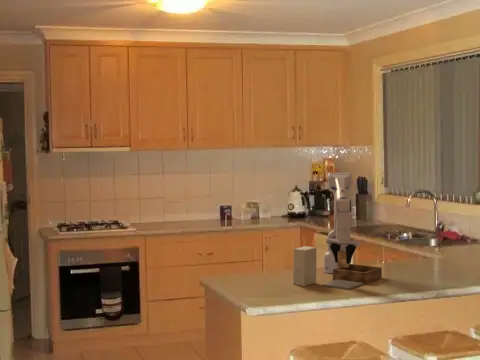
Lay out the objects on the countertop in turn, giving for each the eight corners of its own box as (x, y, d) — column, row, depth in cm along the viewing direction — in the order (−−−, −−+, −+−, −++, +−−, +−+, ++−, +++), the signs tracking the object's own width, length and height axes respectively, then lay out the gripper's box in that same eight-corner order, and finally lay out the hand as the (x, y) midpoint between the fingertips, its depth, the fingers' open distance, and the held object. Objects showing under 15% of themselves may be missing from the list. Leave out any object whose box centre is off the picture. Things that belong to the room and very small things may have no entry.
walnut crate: (332, 279, 304) (332, 269, 304) (349, 274, 317) (349, 263, 316) (365, 284, 296) (366, 273, 295) (381, 278, 308) (381, 267, 308)
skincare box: (305, 281, 302) (305, 245, 301) (317, 283, 298) (317, 247, 297) (292, 284, 296) (292, 247, 295) (304, 286, 292) (304, 249, 291)
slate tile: (322, 286, 292) (322, 284, 292) (336, 281, 302) (336, 279, 302) (349, 290, 285) (349, 287, 285) (363, 284, 295) (363, 282, 295)
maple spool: (335, 266, 292) (335, 251, 292) (340, 265, 296) (340, 250, 296) (345, 267, 290) (345, 252, 289) (350, 266, 293) (350, 251, 293)
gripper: (322, 228, 293) (322, 262, 294) (355, 231, 284) (354, 266, 285) (330, 226, 299) (330, 260, 299) (363, 229, 290) (362, 263, 291)
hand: (342, 262), depth 293 cm, fingers closed on maple spool, 4 cm apart
